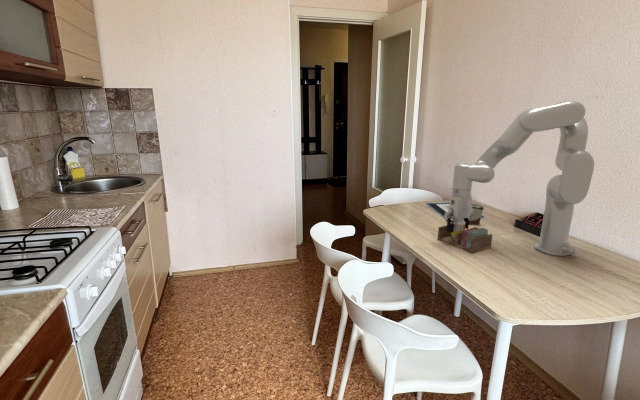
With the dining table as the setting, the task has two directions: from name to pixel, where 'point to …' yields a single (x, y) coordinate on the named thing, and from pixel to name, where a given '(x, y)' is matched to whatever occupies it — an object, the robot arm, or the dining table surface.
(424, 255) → the dining table surface
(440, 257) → the dining table surface
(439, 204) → the sketchbook
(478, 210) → the food container
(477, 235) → the rack
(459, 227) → the supplement bottle
